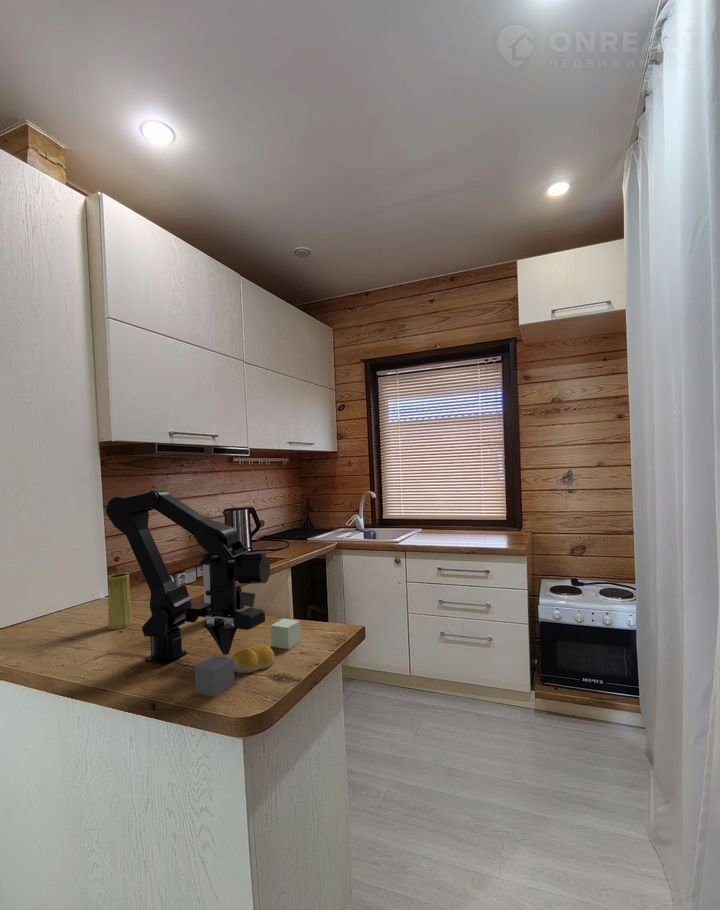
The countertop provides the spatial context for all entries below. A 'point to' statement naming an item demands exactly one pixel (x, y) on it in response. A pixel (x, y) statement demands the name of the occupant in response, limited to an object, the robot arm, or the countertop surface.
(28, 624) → the countertop surface
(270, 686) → the countertop surface
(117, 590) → the vase
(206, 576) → the travel mug
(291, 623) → the sage block
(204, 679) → the charcoal block
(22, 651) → the countertop surface
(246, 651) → the bread roll
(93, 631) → the countertop surface
